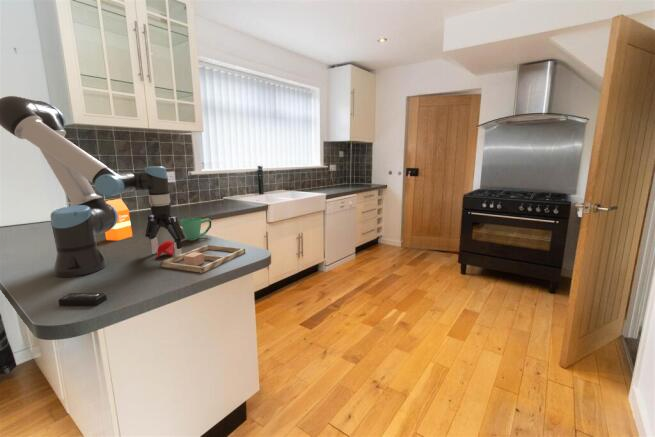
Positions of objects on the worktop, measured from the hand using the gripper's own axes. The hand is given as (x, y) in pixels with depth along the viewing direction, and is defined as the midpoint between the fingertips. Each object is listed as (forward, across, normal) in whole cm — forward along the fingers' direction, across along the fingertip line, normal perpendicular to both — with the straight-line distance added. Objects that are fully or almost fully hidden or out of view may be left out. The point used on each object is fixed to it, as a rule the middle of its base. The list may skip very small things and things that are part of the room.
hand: (167, 254), depth 134 cm
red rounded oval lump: (0, 0, 0) cm, 0 cm away
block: (0, -20, +5) cm, 21 cm away
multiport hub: (+1, -14, +41) cm, 44 cm away
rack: (0, -20, -1) cm, 20 cm away
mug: (0, +8, -26) cm, 27 cm away
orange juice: (0, +49, -14) cm, 51 cm away
